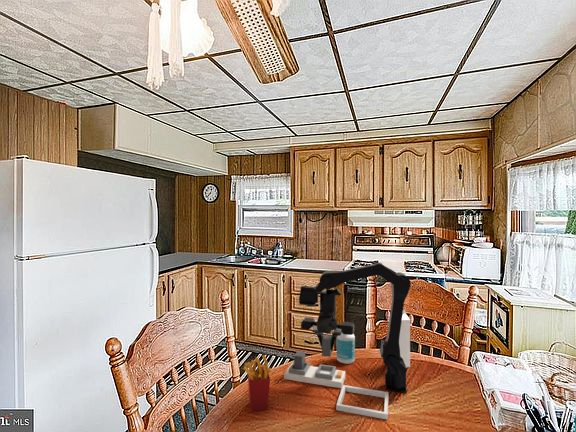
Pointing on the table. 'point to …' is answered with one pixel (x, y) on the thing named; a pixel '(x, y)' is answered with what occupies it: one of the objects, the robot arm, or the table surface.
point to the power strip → (317, 375)
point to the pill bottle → (346, 348)
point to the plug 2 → (326, 345)
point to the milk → (405, 339)
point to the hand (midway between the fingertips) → (327, 349)
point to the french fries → (258, 384)
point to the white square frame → (362, 410)
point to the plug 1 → (299, 360)
